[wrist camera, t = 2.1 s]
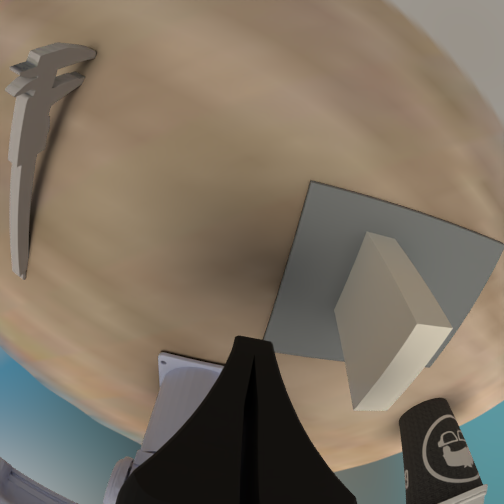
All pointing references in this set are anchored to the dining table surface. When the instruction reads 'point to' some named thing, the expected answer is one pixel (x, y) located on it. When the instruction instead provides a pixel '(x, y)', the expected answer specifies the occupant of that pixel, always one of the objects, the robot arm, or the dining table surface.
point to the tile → (386, 324)
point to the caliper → (35, 129)
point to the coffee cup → (437, 457)
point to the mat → (343, 258)
